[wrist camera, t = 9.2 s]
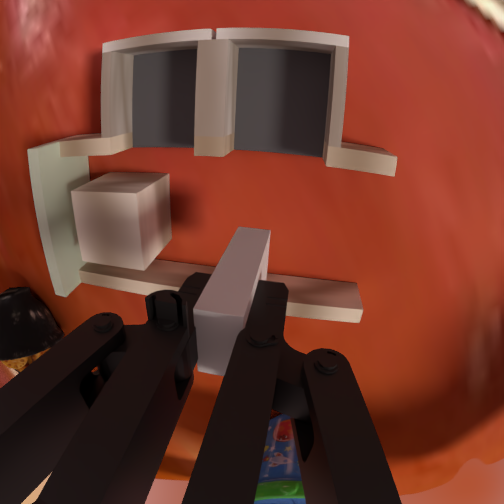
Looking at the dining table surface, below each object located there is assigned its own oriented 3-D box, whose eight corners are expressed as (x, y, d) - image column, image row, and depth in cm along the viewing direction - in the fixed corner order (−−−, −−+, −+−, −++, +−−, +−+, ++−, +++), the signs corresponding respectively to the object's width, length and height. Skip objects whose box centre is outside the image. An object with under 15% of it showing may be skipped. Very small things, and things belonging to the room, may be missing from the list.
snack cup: (391, 419, 27) (401, 504, 18) (333, 459, 32) (330, 530, 23) (255, 374, 26) (233, 479, 17) (214, 424, 31) (191, 503, 22)
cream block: (169, 173, 19) (136, 193, 15) (172, 237, 21) (144, 270, 17) (110, 171, 20) (70, 191, 16) (116, 232, 22) (82, 261, 18)
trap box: (391, 56, 14) (422, 42, 9) (353, 295, 21) (363, 344, 16) (76, 59, 16) (26, 58, 12) (92, 261, 23) (55, 294, 19)
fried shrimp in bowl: (23, 290, 20) (93, 468, 22) (70, 272, 31) (112, 412, 33) (-45, 303, 18) (23, 464, 20) (9, 284, 29) (53, 415, 31)
